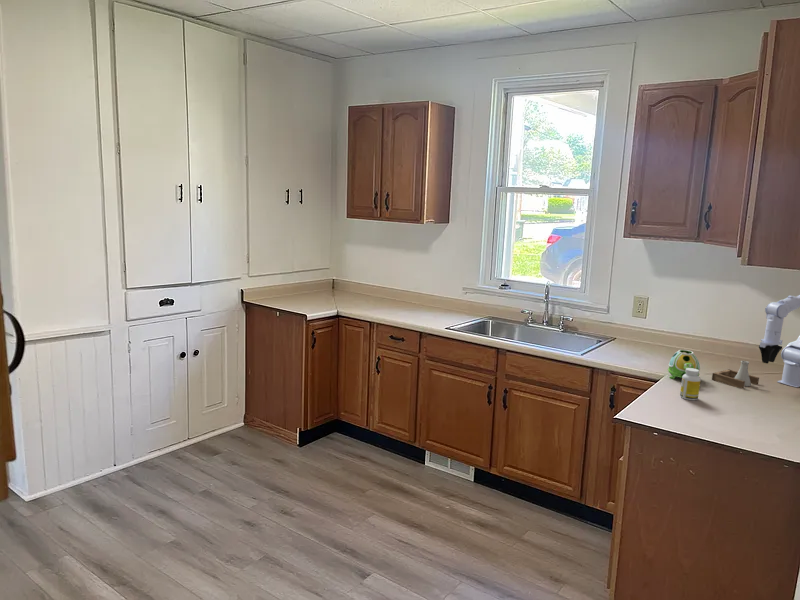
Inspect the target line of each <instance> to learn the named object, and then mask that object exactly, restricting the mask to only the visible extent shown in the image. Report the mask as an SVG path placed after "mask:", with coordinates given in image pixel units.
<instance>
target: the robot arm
mask: <svg viewBox="0 0 800 600" xmlns="http://www.w3.org/2000/svg"><path fill="white" fill-rule="evenodd" d="M799 308H800V294H799V295H796V296H795V295H788V296H787V297H785V298H784V299H783V298H782V299H779V300H778V301H776V302H775V301H771V302H769V303H768V304H766V307H765V309H764V312H765V314H766V315H765V318H766V323H765V331H764V336H763V338H761V339H760V342H759V345H758V349H759V351H760V354H761V362H762V363H763V364H769V363H774V362H775V360H776V358H777V356H778V354H779V353H780V352H781V353H780V356H781V359H782V361H783V363H784V364H783V369H782V375H781V379H780V380H777V381H776V382H777V383H779V384H783V385H786V386H790V387H794V388H799V387H800V334H799V336H798V337H797V338H796V340H794V341H791V342H788V344H787V345H786V346H785V347H784V348H783V346H782V345H783V339H781V336H782V329H783V324H784V319H785V318H786V317H787V316H788V315H789V313H791V312H793V311H795V310H797V309H799Z"/></svg>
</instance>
